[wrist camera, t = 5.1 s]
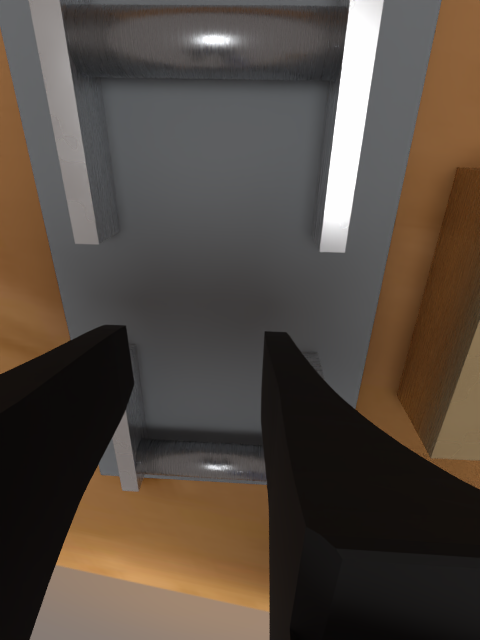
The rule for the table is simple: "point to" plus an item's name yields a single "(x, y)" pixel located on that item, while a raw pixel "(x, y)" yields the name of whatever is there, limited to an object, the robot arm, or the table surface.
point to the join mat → (226, 223)
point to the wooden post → (449, 334)
